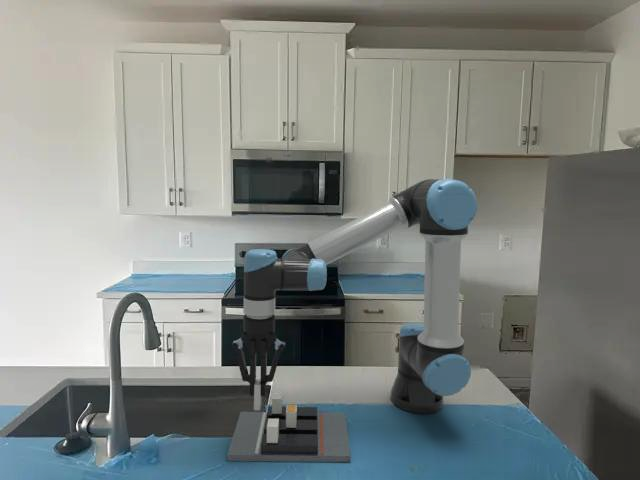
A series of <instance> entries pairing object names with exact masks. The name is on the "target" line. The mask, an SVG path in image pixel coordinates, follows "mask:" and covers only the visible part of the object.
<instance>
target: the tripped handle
mask: <svg viewBox="0 0 640 480" xmlns="http://www.w3.org/2000/svg"><path fill="white" fill-rule="evenodd" d="M286 407H287V408H286V428H296V422H297V407H298V405H297V404H287V405H286Z"/></svg>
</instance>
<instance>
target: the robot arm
mask: <svg viewBox="0 0 640 480" xmlns="http://www.w3.org/2000/svg"><path fill="white" fill-rule="evenodd" d="M477 211H478V200H477V196H476V193H475V192H474V190H473V189H472V188H471V187H470V186H469V185H468V184H467V183H465V182H463V181H461V180H458V179H457V180H456V179H452V178H443V179H442V178H440V179H437V178H436V179H433V178H431V179H430V178H429V179H424V180H422V181H421V180H420V181H419V182H417V183H415V184H413V185H411V186H410V187H408V188H406V189H404V190H402V191H400V192H399V193H397V194H395V195H393V196H391V197H390V198H389V200H388V202H386V203H385V204H383V205H382V206H379V207H377V208H375V209H374V210H372V211H370V212H367V213H366V214H363V215H362V216H359V217H358V218H355V219H353V220H351V221H349V222H348V223H345V224H343V225H342V226H340V227H338V228H336V229H334V230H332V231H330V232H328V233H325V234H323V235H322V236H320V237H318V238H316V239H313V240H312V241H310V242H308V243H306V244H304V245H302V246H300V247H298V248H296V247H295V248H291V249H288V250H286V251H285V252H284V254H283V255H282V257H281V258H278V256H277V255H278V254H277V252H276V251H275V250H273V249H265V248H259V249H250V250H248V251H246V253H245V254H244V265H243V314H244V315H243V317H242V318H243V319H242V321H243V326H242V329H243V330H242V331H243V332H242V334H241V336H240V338H238V339H234V340H233V342H232V344H231V348H232V349H233V351H234V352H235V355H236V360H237V363H238V367H239V371H240V376H241V379H242V381H243V382H248V384H249V395H250V397H251V396H252V397H253V411H261V407H262V397H265V396H266V393H267V383H272V382H273V381H274V377H275V374H276V371H277V367H278V363H279V360H280V356H281V354H282V352H283V351H284V350H285V347H286V341H284V340H282V341H281V340H279V339H278V338H277V334H276V316H275V314H276V294H277V293H276V291H310V292H312V291H322V290H324V289H325V287H326V285H327V280H328V279H327V277H328V274H327V273H328V272H327V271H328V269H327V266H328V265H329V264H331V263H333V262H335V261H337V260H339V259H342V257H346V256H348V255H349V254H351V253H353V252H355V251H357V250H359V249H361V248H363V247H364V246H367V245H368V244H371V243H372V242H375V241H377V240H379V239H380V238H383V237H384V236H386V235H388V234H391V233H393V232H394V231H396V230H399V229H400V228H401V229H403V230H407V229H409V228H410V227H413V226H416V225H419V235H420V236H421V237H422V238H423V239H424V240H425V242H424V243H425V246H424V247H425V248H424V250H425V251H424V252H425V253H424V255H425V256H424V294H423V295H424V296H423V298H424V299H423V300H424V301H423V303H424V304H423V323H422V322H417V323H416V322H413V323H412V322H411V323H406V324H403V325H401V327H400V329H399V333H398V356H397V357H398V359H397V373H396V377H395V379H394V381H393V384H392V387H391V390H390V401H391V403H392V404H393V405H394V406H395V407H397V408H399V409H401V410H403V411H406V412H409V413H413V414H433V413H437V412H438V411H440V410H441V409H442V408H443V406H444V397H448V396H453V395H456V394H458V393H459V392H461V391H462V390H463V388H466V386H468V384H469V381H470V380H471V375H472V368H471V365H470V363H469V361H468V359H467V358H465V355H464V354H465V353H464V351H465V340H464V338H463V337H462V336H461V335H460V334H459V318H460V317H459V315H460V314H459V313H460V311H459V310H460V287H461V286H460V282H461V281H460V280H461V279H460V278H461V251H462V250H461V249H462V241H463V240H464V239H465V238H466V237H467V236H468V235H469V225H471V223H472V221H474V219H475V217H476V215H477ZM274 344H275V345H274ZM273 345H274V349H275V353H274V355H273V359H272V362H271V367H270V370H269V374H268V373H267V370H268V368H267V367H268V365H267V363H268V362H267V361H268V352H269V350H270V349H271V348H272V347H273ZM243 346H245V348H246V349H247V350H248V351H249V371H248V367H247V366H248V365H247V362H246V359H245V354H244V349H243ZM257 353H260V379H256V378H257Z"/></svg>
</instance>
